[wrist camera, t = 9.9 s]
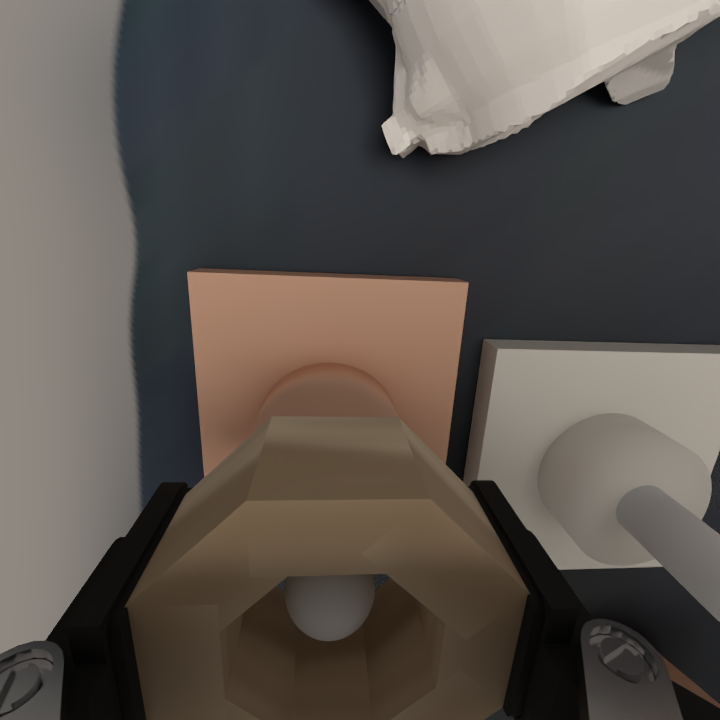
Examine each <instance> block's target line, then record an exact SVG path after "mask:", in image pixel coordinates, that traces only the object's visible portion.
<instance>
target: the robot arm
mask: <svg viewBox="0 0 720 720" xmlns="http://www.w3.org/2000/svg"><path fill="white" fill-rule="evenodd" d="M467 487H468V488H469V489H470V490H471V491H472V492H473V493H474V495H475V497H476V499H477V500H478V502H479V504H480V506H481V507H482V509H483V511H484V513H485V514H486V516H487V518H488V520H489V522H490V523H491V525H492V527H493V529H494V530H495V532H496V534H497V536H498V538H499V539H500V541H501V543H502V545H503V546H504V548H505V550H506V552H507V554H508V555H509V557H510V559H511V561H512V562H513V564H514V566H515V568H516V570H517V571H518V573H519V575H520V577H521V578H522V580H523V582H524V584H525V586H526V587H527V589H528V591H529V593H530V594H528V595H527V600H526V604H525V609H524V613H523V618H522V622H521V627H520V631H519V636H518V640H517V645H516V650H515V654H514V659H513V663H512V668H511V672H510V677H509V681H508V686H507V690H506V695H505V699H504V704H503V709H504V711H505V713H506V715H507V716H513V717H514V719H515V720H720V708H719V707H717V706H715V705H713V704H712V703H710V702H708V701H707V700H705V699H703V698H701V697H700V696H698V695H696V694H695V693H693V692H691V691H689V690H688V689H686V688H684V687H682V686H681V685H679V684H677V683H676V682H674V681H672V680H671V679H670V675H669V672H668V669H667V667H666V665H665V663H664V661H663V658H662V657H661V656H660V654H659V653H658V652H657V650H656V649H655V648H654V647H653V646H652V645H651V644H650V643H649V642H648V641H647V640H646V639H645V638H644V637H643V636H641V635H640V634H638V633H637V632H635V631H634V630H632V629H631V628H629V627H627V626H625V625H623V624H620V623H618V622H616V621H612V620H607V619H592V618H591V616H590V615H589V614H588V612H587V611H586V609H585V608H584V606H583V605H582V603H581V602H580V600H579V599H578V598H577V596H576V595H575V593H574V592H573V590H572V589H571V587H570V586H569V584H568V583H567V581H566V580H565V579H564V577H563V576H562V574H561V573H560V571H559V570H558V568H557V567H556V565H555V564H554V563H553V561H552V560H551V558H550V557H549V555H548V554H547V552H546V551H545V549H544V548H543V547H542V545H541V544H540V542H539V541H538V539H537V538H536V536H535V535H534V534H533V533H532V532H531V531H529V530H527V529H526V528H525V526H524V525H523V523H522V522H521V520H520V519H519V517H518V516H517V514H516V513H515V511H514V510H513V508H512V507H511V505H510V504H509V502H508V501H507V499H506V498H505V496H504V495H503V493H502V492H501V490H500V489H499V487H498V486H497V484H496V483H495V482H494V481H492V480H473V481H471V483H470V486H467ZM191 489H192V488H188V486H187V484H186V483H185V482H164V483H161V484H160V486H159V487H158V489H157V490H156V492H155V493H154V495H153V496H152V498H151V499H150V501H149V502H148V504H147V505H146V507H145V508H144V510H143V511H142V513H141V514H140V516H139V517H138V519H137V520H136V522H135V523H134V525H133V526H132V528H131V529H130V531H129V532H128V534H127V535H126V537H120V538H118V539H116V540H115V542H114V543H113V544H112V545H111V547H110V548H109V549H108V551H107V552H106V554H105V555H104V557H103V558H102V560H101V561H100V562H99V564H98V565H97V567H96V568H95V570H94V571H93V573H92V574H91V576H90V577H89V578H88V580H87V582H86V583H85V584H84V586H83V587H82V588H81V590H80V591H79V593H78V594H77V596H76V597H75V599H74V600H73V601H72V603H71V604H70V606H69V607H68V609H67V610H66V612H65V613H64V614H63V616H62V617H61V619H60V620H59V622H58V623H57V625H56V626H55V627H54V629H53V631H52V632H51V633H50V635H49V636H48V638H47V639H46V640H45V641H33V642H29V643H25V644H22V645H18V646H16V647H14V648H12V649H10V650H8V651H5V652H3V653H1V654H0V720H146V715H145V709H144V703H143V697H142V691H141V685H140V679H139V673H138V667H137V662H136V656H135V650H134V644H133V638H132V632H131V626H130V620H129V614H128V608H127V607H125V605H126V603H127V602H128V600H129V598H130V596H131V594H132V592H133V590H134V589H135V587H136V585H137V583H138V581H139V579H140V578H141V576H142V574H143V572H144V570H145V568H146V567H147V565H148V563H149V561H150V559H151V557H152V556H153V554H154V552H155V550H156V548H157V546H158V544H159V543H160V541H161V539H162V537H163V535H164V533H165V532H166V530H167V528H168V526H169V524H170V522H171V521H172V519H173V517H174V515H175V513H176V511H177V510H178V508H179V506H180V504H181V502H182V500H183V498H184V497H185V495H186V494H187V493H188V492H189V491H190V490H191Z"/></svg>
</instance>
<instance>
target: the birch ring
mask: <svg viewBox="0 0 720 720" xmlns="http://www.w3.org/2000/svg"><path fill="white" fill-rule="evenodd" d="M365 574H387V575H388V576H389V577H390V579H389V580H387V581H386V582H385V583H383V584H382V585H381V586H380V587H378V588H377V589H376V590H375V596H374V601H373V605H372V608H371V610H370V613H369V615H368V617H367V618H366V620H365V621H364V623H363V624H362V625H361V626H360V627H359V628H358V629H357V630H356V631H355V632H354V633H352V634H351V635H349V636H347V637H345V638H343V639H340V640H336V641H320V640H317V639H314V638H311V637H309V636H308V635H306V634H305V633H304V632H302V631H301V630H300V629H299V628H298V627H297V626H296V624H295V623H294V622H293V620H292V618H291V616H290V614H289V612H288V609H287V605H286V601H285V592H284V591H282V590H281V589H280V588H278V587H277V585H278V584H279V583H280V582H282V581H283V580H284V579H285V578H286V577H291V576H328V575H365ZM528 594H530V593H529V591H528V589H527V587H526V586H525V584H524V582H523V580H522V578H521V577H520V575H519V573H518V571H517V570H516V568H515V566H514V564H513V562H512V561H511V559H510V557H509V555H508V554H507V552H506V550H505V548H504V546H503V545H502V543H501V541H500V539H499V538H498V536H497V534H496V532H495V530H494V529H493V527H492V525H491V523H490V522H489V520H488V518H487V516H486V514H485V513H484V511H483V509H482V507H481V506H480V504H479V502H478V500H477V499H476V497H475V495H474V493H473V492H472V491H471V490H470V489H469V488H468V487H467V486H466V485H465V484H464V483H463V482H462V481H461V480H460V478H459V477H458V476H457V475H456V474H455V473H454V472H453V471H452V470H451V469H450V468H449V467H448V466H447V465H446V464H445V463H444V462H443V461H442V460H441V459H440V458H439V457H438V456H437V455H436V454H435V453H434V452H433V451H432V450H431V449H430V448H429V447H428V446H427V445H426V444H425V443H424V442H423V441H422V440H421V439H420V438H419V437H418V436H417V435H416V434H415V433H414V432H413V431H412V430H411V429H410V428H409V427H408V426H407V425H406V424H405V423H404V422H403V421H402V420H401V419H400V418H399V417H305V416H272V417H270V418H269V419H268V420H267V421H266V422H265V423H264V424H263V425H262V426H261V427H259V428H258V429H257V430H256V431H255V432H254V433H253V434H252V435H251V436H250V437H248V438H247V439H246V440H245V441H244V442H243V443H242V444H241V445H240V446H238V447H237V448H236V449H235V450H234V451H233V452H232V453H231V454H230V455H229V456H227V457H226V458H225V459H224V460H223V461H222V462H221V463H220V464H219V465H218V466H216V467H215V468H214V469H213V470H212V471H211V472H210V473H209V474H208V475H207V476H205V477H204V478H203V479H202V480H201V481H200V482H199V483H198V484H197V485H196V486H194V487H193V488H192V489H191V490H190V491H189V492H188V493H187V494H186V495H185V497H184V498H183V500H182V502H181V504H180V506H179V508H178V510H177V511H176V513H175V515H174V517H173V519H172V521H171V522H170V524H169V526H168V528H167V530H166V532H165V533H164V535H163V537H162V539H161V541H160V543H159V544H158V546H157V548H156V550H155V552H154V554H153V556H152V557H151V559H150V561H149V563H148V565H147V567H146V568H145V570H144V572H143V574H142V576H141V578H140V579H139V581H138V583H137V585H136V587H135V589H134V590H133V592H132V594H131V596H130V598H129V600H128V602H127V603H126V605H125V607H127V608H128V614H129V620H130V626H131V632H132V638H133V644H134V650H135V656H136V662H137V667H138V673H139V679H140V685H141V691H142V697H143V703H144V709H145V715H146V720H484V719H486V718H487V717H489V716H490V715H492V714H493V713H495V712H496V711H498V710H499V709H501V708H502V707H503V704H504V699H505V695H506V690H507V686H508V681H509V677H510V672H511V668H512V663H513V659H514V654H515V650H516V645H517V640H518V636H519V631H520V627H521V622H522V618H523V613H524V609H525V604H526V600H527V595H528Z"/></svg>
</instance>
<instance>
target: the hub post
mask: <svg viewBox="0 0 720 720" xmlns="http://www.w3.org/2000/svg"><path fill="white" fill-rule="evenodd" d="M187 275H188V287H189V299H190V311H191V323H192V335H193V347H194V359H195V371H196V384H197V396H198V408H199V420H200V432H201V444H202V456H203V468H204V477H205V476H207V475H208V474H209V473H210V472H211V471H212V470H213V469H214V468H215V467H216V466H218V465H219V464H220V463H221V462H222V461H223V460H224V459H225V458H226V457H227V456H229V455H230V454H231V453H232V452H233V451H234V450H235V449H236V448H237V447H238V446H240V445H241V444H242V443H243V442H244V441H245V440H246V439H247V438H248V437H250V436H251V435H252V434H253V433H254V432H255V431H256V430H257V429H258V428H259V427H261V426H262V425H263V424H264V423H265V422H266V421H267V420H268V419H269V418H270V417H272V416H305V417H399V418H400V419H401V420H402V421H403V422H404V423H405V424H406V425H407V426H408V427H409V428H410V429H411V430H412V431H413V432H414V433H415V434H416V435H417V436H418V437H419V438H420V439H421V440H422V441H423V442H424V443H425V444H426V445H427V446H428V447H429V448H430V449H431V450H432V451H433V452H434V453H435V454H436V455H437V456H438V457H439V458H440V459H441V460H442V461H443V462H444V463H445V464H446V458H447V450H448V442H449V434H450V426H451V418H452V410H453V403H454V395H455V387H456V379H457V371H458V363H459V355H460V347H461V339H462V331H463V323H464V315H465V307H466V299H467V292H468V284H469V283H468V282H466V281H463V280H460V279H457V278H438V277H413V276H387V275H361V274H336V273H310V272H284V271H258V270H233V269H207V268H199V269H196V270H192V271H189V272H187ZM374 596H375V578H374V574H365V575H328V576H291V577H286V580H285V601H286V605H287V609H288V612H289V614H290V616H291V618H292V620H293V622H294V623H295V624H296V626H297V627H298V628H299V629H300V630H301V631H302V632H304V633H305V634H306V635H308V636H309V637H311V638H314V639H317V640H320V641H336V640H340V639H343V638H345V637H347V636H349V635H351V634H352V633H354V632H355V631H356V630H357V629H358V628H359V627H360V626H361V625H362V624H363V623H364V621H365V620H366V618H367V617H368V615H369V613H370V610H371V608H372V605H373V601H374Z"/></svg>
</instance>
